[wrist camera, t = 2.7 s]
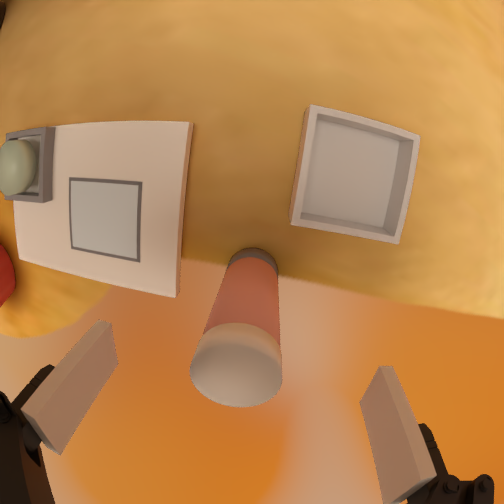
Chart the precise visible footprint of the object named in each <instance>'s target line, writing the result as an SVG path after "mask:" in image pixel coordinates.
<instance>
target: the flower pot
mask: <svg viewBox="0 0 504 504" xmlns="http://www.w3.org/2000/svg"><path fill="white" fill-rule="evenodd" d="M15 284H16V281H15V273H14V268H13V265H12V262H11V260H10V257H9V255H8V253H7V252H6V250H5V249H4V247H3V246H2V245H1V244H0V307H1V306H2V305H3V303H4V302H5V301H6V300H7V299H8V297H9V296H10V295H11V294H12V293H13V291H14V289H15Z"/></svg>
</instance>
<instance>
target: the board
mask: <svg viewBox="0 0 504 504" xmlns="http://www.w3.org/2000/svg"><path fill="white" fill-rule="evenodd" d="M193 125H194V124H193V123H191V122H180V121H109V122H91V123H78V124H68V125H59V126H51V127H41V128H34V129H28V130H22V131H17V132H12V133H7V134H6V142H7V141H12V140H27V141H29V142H30V143H31V144H32V146H33V148H34V151H35V155H36V173H35V177H34V180H33V183H32V184H31V186H30V187H29V189H28V190H26V191H24V192H21V193H18V194H14V195H11V196H6V195H5V200H13V205H14V220H15V230H16V239H17V247H18V254H19V259H21V260H24V261H27V262H31V263H34V264H37V265H41V266H44V267H48V268H51V269H55V270H58V271H62V272H66V273H69V274H73V275H77V276H81V277H84V278H88V279H92V280H96V281H100V282H104V283H108V284H113V285H117V286H121V287H125V288H130V289H134V290H139V291H144V292H148V293H153V294H157V295H162V296H167V297H172V298H176V297H177V295H178V293H179V292H180V266H181V247H182V231H183V217H184V204H185V193H186V183H187V173H188V164H189V155H190V147H191V139H192V132H193Z"/></svg>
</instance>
